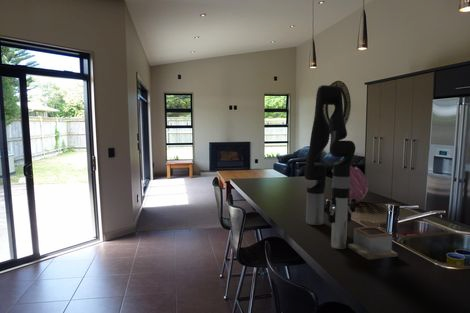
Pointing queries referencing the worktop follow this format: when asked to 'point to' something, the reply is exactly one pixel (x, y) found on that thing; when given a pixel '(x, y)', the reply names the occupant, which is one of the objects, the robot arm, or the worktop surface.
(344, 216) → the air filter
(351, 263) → the worktop surface
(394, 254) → the base board
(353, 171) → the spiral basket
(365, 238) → the sleeve
